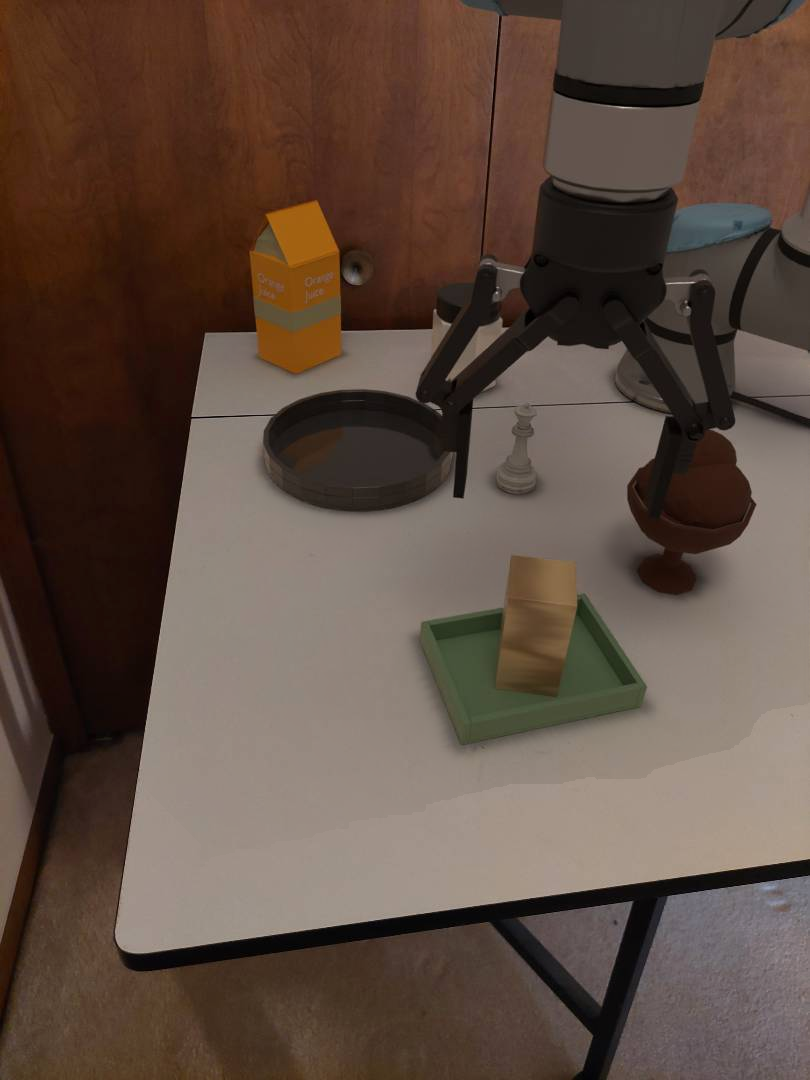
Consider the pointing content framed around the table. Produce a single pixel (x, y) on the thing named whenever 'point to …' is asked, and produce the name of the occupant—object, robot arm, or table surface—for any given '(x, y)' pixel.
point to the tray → (485, 712)
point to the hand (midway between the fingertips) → (554, 497)
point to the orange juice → (296, 288)
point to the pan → (356, 449)
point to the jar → (445, 314)
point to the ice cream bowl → (692, 512)
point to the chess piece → (519, 456)
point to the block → (536, 625)
